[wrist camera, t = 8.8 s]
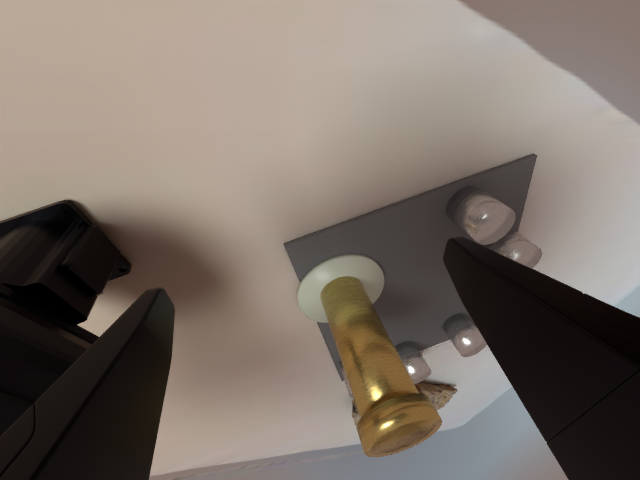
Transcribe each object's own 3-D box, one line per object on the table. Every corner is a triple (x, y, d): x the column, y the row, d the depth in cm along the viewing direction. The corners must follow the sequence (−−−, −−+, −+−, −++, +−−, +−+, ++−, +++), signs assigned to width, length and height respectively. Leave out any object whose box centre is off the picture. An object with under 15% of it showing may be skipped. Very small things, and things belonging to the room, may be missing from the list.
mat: (341, 378, 41) (342, 381, 41) (283, 243, 25) (284, 246, 24) (492, 319, 42) (494, 321, 42) (533, 153, 26) (537, 155, 26)
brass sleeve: (322, 318, 30) (369, 464, 20) (308, 284, 27) (358, 440, 17) (370, 299, 31) (440, 435, 21) (363, 264, 27) (443, 406, 17)
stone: (343, 441, 44) (394, 435, 37) (336, 393, 47) (381, 380, 41) (424, 423, 56) (473, 416, 49) (413, 386, 59) (457, 375, 53)
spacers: (334, 368, 38) (344, 398, 35) (462, 181, 25) (495, 203, 22) (422, 367, 45) (437, 393, 42) (560, 218, 32) (596, 239, 29)
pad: (309, 328, 32) (311, 333, 31) (284, 274, 26) (285, 278, 26) (385, 300, 32) (388, 304, 32) (376, 240, 27) (379, 244, 26)
